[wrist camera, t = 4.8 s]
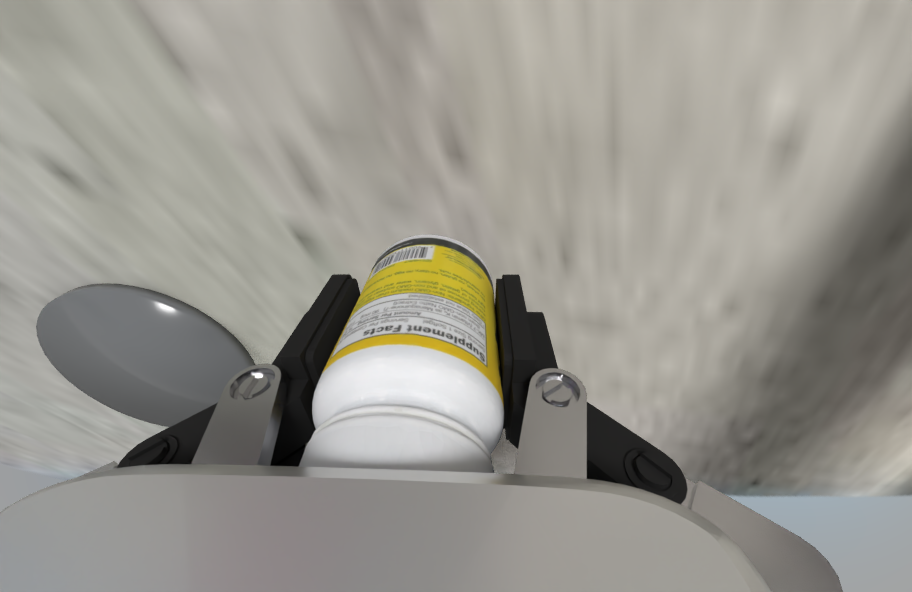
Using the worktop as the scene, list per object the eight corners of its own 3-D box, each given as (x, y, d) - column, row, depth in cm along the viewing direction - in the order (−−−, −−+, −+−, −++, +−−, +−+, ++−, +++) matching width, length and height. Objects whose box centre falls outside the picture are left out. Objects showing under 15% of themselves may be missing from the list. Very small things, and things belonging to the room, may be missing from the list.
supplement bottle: (459, 346, 15) (446, 589, 8) (358, 306, 14) (244, 546, 7) (517, 263, 12) (568, 517, 6) (398, 206, 11) (280, 433, 5)
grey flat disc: (212, 281, 15) (204, 288, 15) (282, 420, 21) (278, 428, 20) (-3, 285, 15) (-19, 292, 15) (124, 421, 21) (116, 430, 20)
